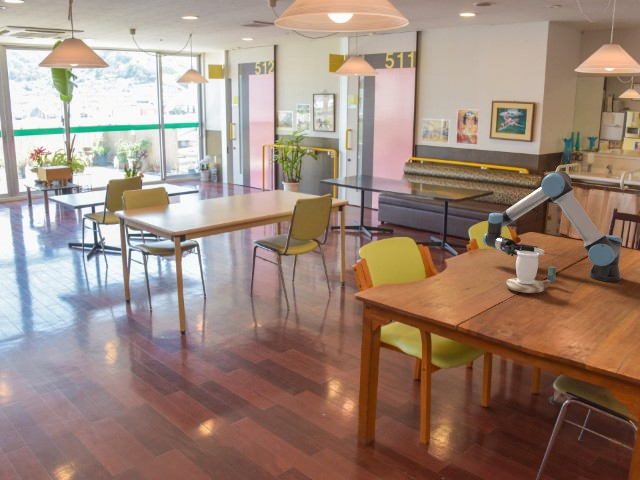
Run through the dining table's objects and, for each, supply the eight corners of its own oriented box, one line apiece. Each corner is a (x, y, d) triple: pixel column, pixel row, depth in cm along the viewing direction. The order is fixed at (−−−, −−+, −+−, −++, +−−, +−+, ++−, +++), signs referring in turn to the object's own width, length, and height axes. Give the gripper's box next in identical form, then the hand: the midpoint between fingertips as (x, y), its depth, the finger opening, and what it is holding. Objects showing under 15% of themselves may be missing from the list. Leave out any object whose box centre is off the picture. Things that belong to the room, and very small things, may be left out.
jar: (538, 285, 294) (540, 255, 291) (515, 284, 296) (518, 254, 293) (534, 280, 304) (537, 251, 302) (513, 279, 306) (515, 250, 303)
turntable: (524, 294, 289) (525, 277, 287) (498, 284, 305) (499, 267, 303) (566, 288, 300) (568, 271, 298) (539, 277, 316) (541, 262, 314)
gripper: (522, 249, 340) (551, 258, 321) (487, 253, 329) (514, 263, 311) (523, 236, 338) (552, 245, 319) (488, 240, 327) (515, 249, 309)
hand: (533, 254), depth 315 cm, fingers open, 13 cm apart
